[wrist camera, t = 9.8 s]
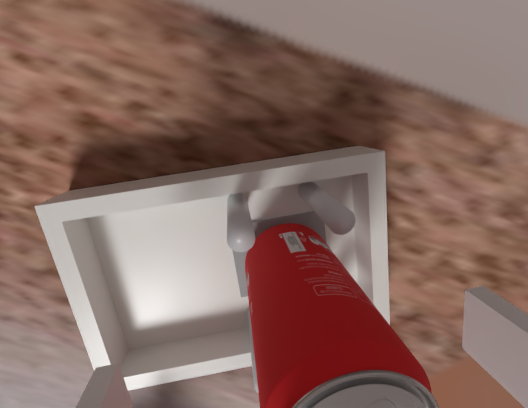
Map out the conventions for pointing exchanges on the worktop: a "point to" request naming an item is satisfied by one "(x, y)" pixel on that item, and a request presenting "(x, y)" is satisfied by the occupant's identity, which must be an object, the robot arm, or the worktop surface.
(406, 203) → the worktop surface
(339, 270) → the beverage can
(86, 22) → the worktop surface
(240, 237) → the tray
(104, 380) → the robot arm
